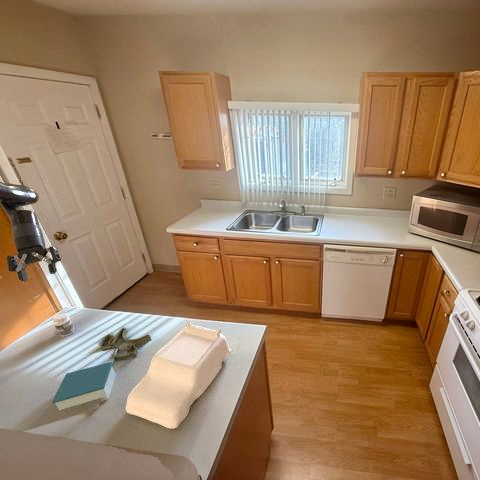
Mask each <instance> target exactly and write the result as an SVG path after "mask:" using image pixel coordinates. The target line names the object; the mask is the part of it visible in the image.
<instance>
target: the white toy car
mask: <svg viewBox="0 0 480 480" xmlns="http://www.w3.org/2000/svg"><path fill="white" fill-rule="evenodd" d="M231 353H232V349H231V348H230V345H229V343H228V340H227V338H226V336H224V335H223V334H222V329H217V330H215V329H212V328H206V327H204V326H199V325H195V324H193V323H192V322H191V321H190V320H189V321H188V322H187V324H186V325H185V327H183V328H182V329H181V330H180V331H179V332H178V333H177V334H175V335H174V336H173V337H172V338H171V339H170V340H169V341H167V343H166V344H165V345H164V346H162V347H161V348H160V349H159V350H158V351H156V353H155V354H154V355H153V357H152V358H151V361H150V364H149V367H148V370H147V372H146V374H145V375H144V376H143V378H142V379H140V381H139V382H138V383H137V384H136V386H134V387H133V389H132V390H131V391H130V392H129V394H128V395H127V399H126V405H125V411H126V413H127V414H129V415H132V416H136V417H139V418H142V419H144V420H147V421H149V422H152V423H154V424H158V425H160V426H162V427H164V428H166V429H169V430H173V429H176V428H178V427H179V426H180V424H181V423H182V422H183V421H184V420H185V419H186V418H187V417H188V415H189V413H190V409H191V406H192V405H193V403H194V402H195V401H196V400H197V399H198V398H200V397H201V396H202V395H203V394H204V393H205V391H206V390H207V389H208V387H209V386H210V385H211V383H212V382H213V381H214V379H215V377H217V375H218V374H219V372H220V371H221V369H222V367H223V364H222V363H223V361H225V360H227V359H228V358H229V357H231V356H230V355H231Z"/></svg>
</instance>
